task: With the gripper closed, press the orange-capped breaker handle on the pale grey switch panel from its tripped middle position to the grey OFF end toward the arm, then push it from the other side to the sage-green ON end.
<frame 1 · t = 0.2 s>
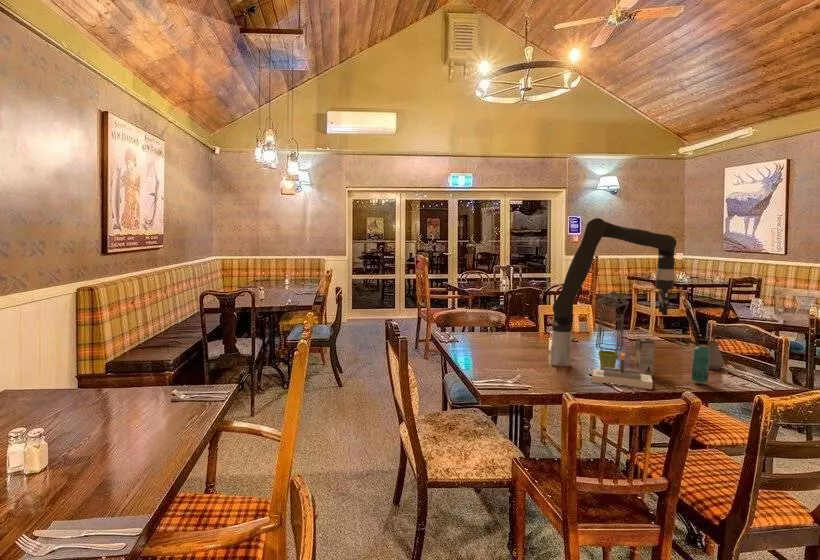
hand: (662, 313, 235), 29 cm above the table, fingers open, 8 cm apart
breaker handle: (622, 364, 224), point 8 cm above the table, slide at 0.0 cm
beverage bottle: (699, 384, 224), on the table
plant pot: (607, 370, 244), on the table
geometric lantern: (610, 355, 277), on the table
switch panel: (621, 382, 225), on the table
coffee box: (643, 373, 240), on the table
coffee pot: (700, 367, 253), on the table
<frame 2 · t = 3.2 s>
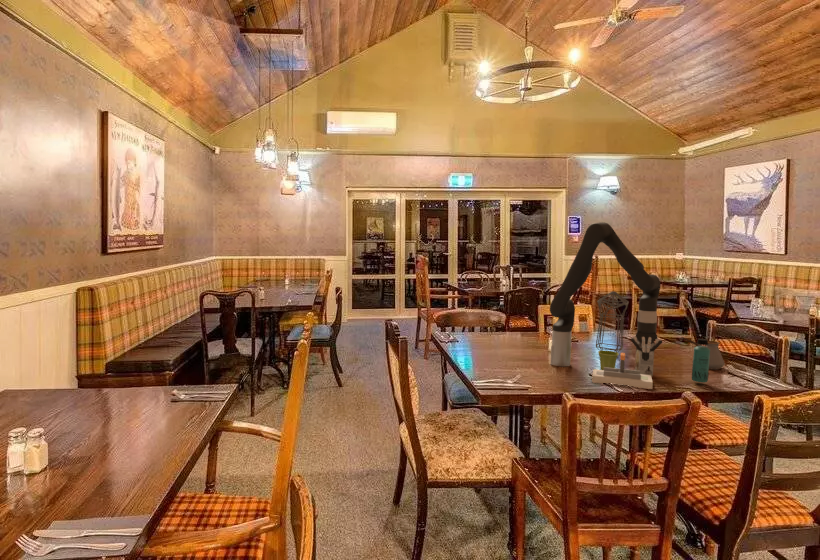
hand: (645, 360, 220), 11 cm above the table, fingers closed
nothing on the table moved.
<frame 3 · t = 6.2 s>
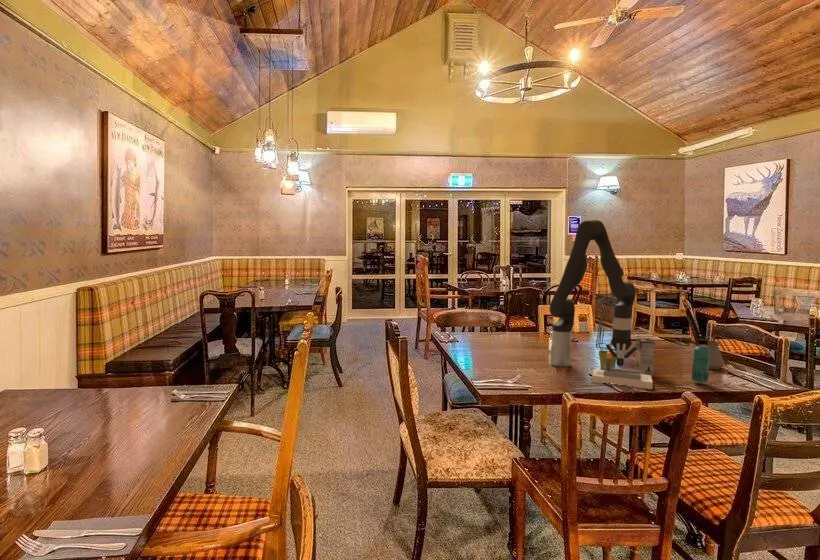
hand: (620, 366, 224), 7 cm above the table, fingers closed
breaker handle: (608, 363, 226), point 8 cm above the table, slide at -5.7 cm, touching hand
everything else where it was.
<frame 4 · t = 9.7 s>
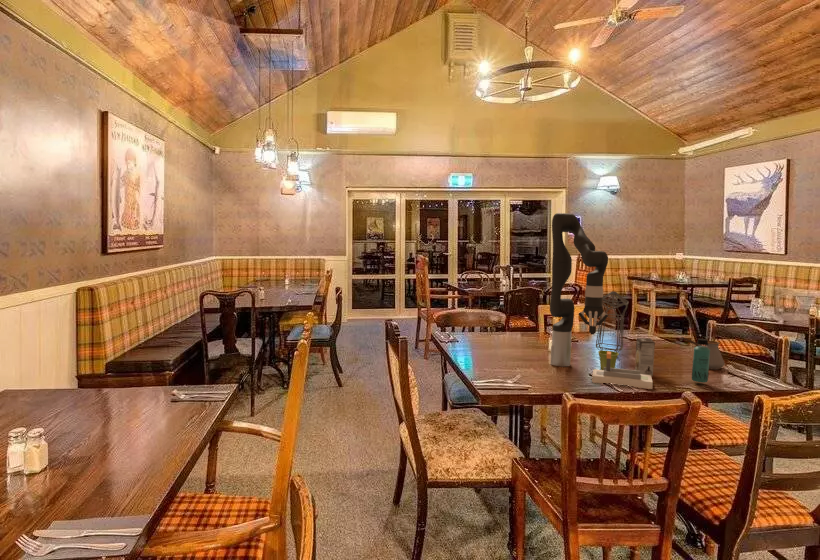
hand: (592, 334, 228), 20 cm above the table, fingers closed
breaker handle: (608, 362, 226), point 8 cm above the table, slide at -5.7 cm
everything else where it was.
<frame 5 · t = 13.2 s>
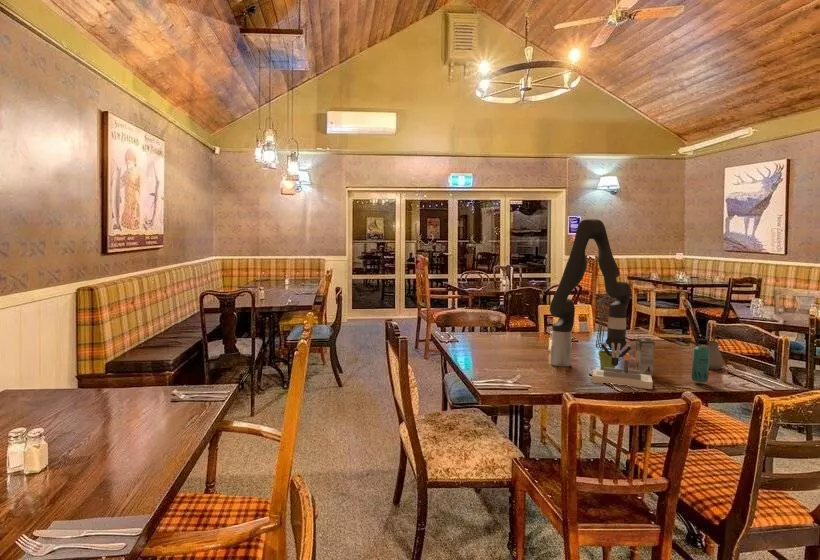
hand: (614, 365, 225), 7 cm above the table, fingers closed
breaker handle: (626, 364, 223), point 8 cm above the table, slide at 1.7 cm, touching hand
everything else where it was.
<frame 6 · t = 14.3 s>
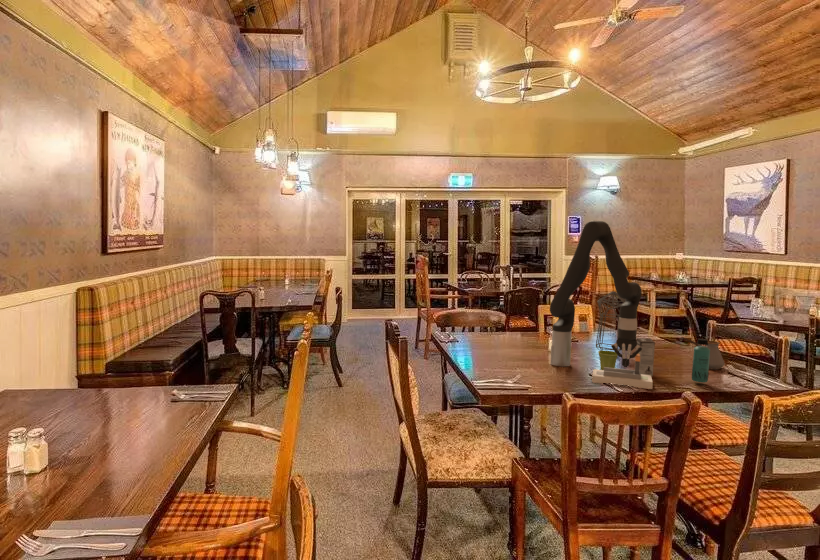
hand: (625, 366, 223), 7 cm above the table, fingers closed
breaker handle: (637, 365, 222), point 8 cm above the table, slide at 6.0 cm, touching hand
everything else where it was.
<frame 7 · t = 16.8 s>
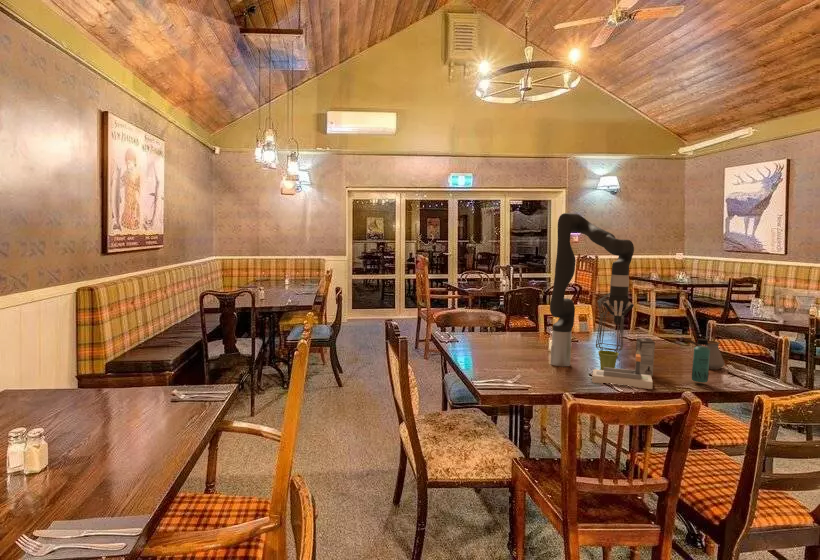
hand: (617, 324, 224), 26 cm above the table, fingers closed
breaker handle: (637, 365, 222), point 8 cm above the table, slide at 6.2 cm
everything else where it was.
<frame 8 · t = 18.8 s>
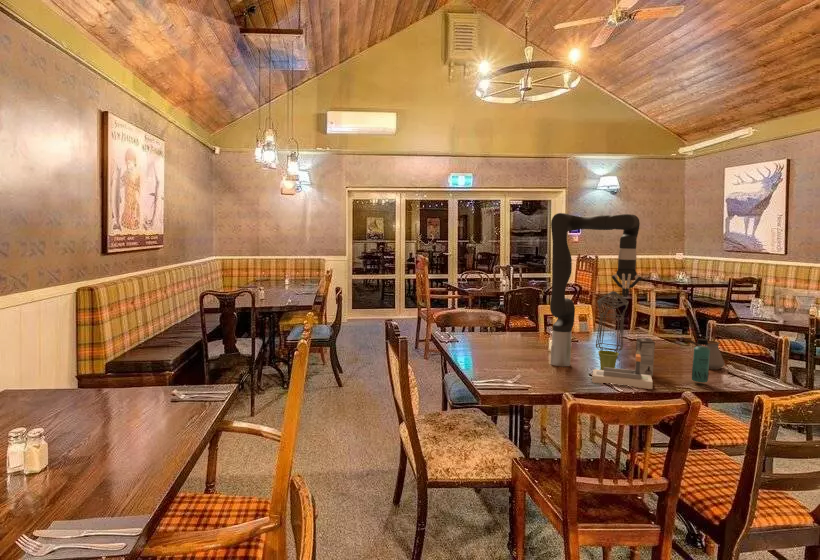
hand: (625, 296, 232), 37 cm above the table, fingers closed
nothing on the table moved.
at the end: breaker handle slide at 6.2 cm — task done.
